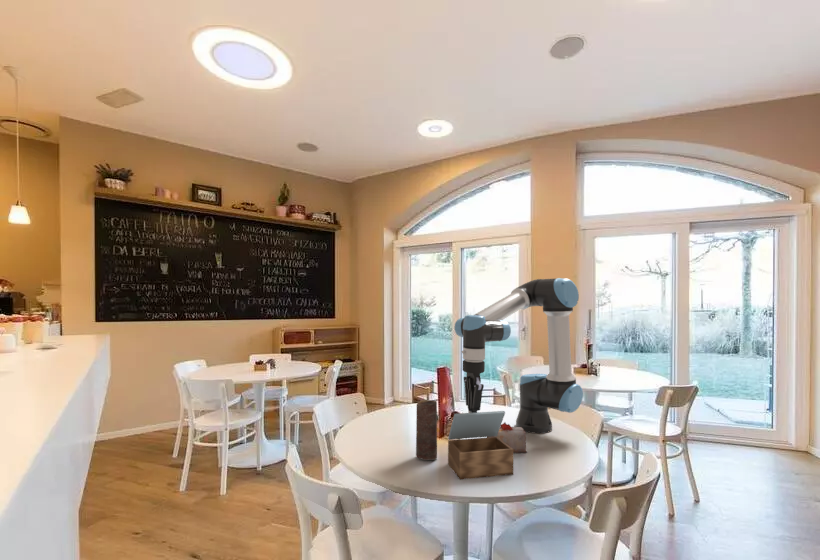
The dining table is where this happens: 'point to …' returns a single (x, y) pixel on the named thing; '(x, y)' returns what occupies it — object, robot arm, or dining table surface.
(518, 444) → the food item
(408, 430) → the dining table surface
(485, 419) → the lid
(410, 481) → the dining table surface
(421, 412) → the candle
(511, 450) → the box
